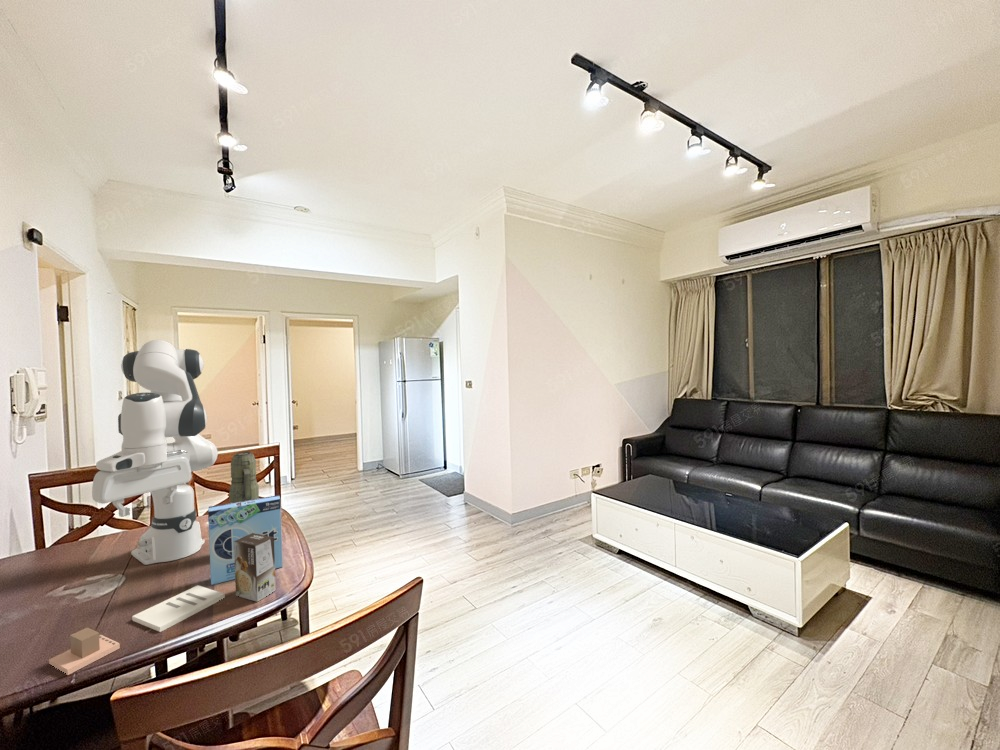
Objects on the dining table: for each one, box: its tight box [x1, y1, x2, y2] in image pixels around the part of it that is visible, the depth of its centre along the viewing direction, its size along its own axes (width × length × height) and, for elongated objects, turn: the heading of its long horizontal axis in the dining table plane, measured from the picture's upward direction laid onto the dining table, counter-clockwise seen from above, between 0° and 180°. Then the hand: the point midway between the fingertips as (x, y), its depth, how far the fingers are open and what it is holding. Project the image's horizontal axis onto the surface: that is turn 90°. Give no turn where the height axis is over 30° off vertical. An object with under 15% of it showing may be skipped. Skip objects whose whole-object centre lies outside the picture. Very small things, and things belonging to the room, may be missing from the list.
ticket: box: [131, 584, 226, 633], centre depth 112 cm, size 12×16×1 cm
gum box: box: [207, 494, 284, 586], centre depth 131 cm, size 19×5×23 cm, turn 123°
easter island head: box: [228, 451, 260, 503], centre depth 145 cm, size 9×12×35 cm
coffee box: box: [234, 533, 277, 602], centre depth 119 cm, size 9×6×16 cm
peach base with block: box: [48, 627, 121, 676], centre depth 94 cm, size 8×9×5 cm
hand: (146, 509), depth 106 cm, fingers open, 8 cm apart
